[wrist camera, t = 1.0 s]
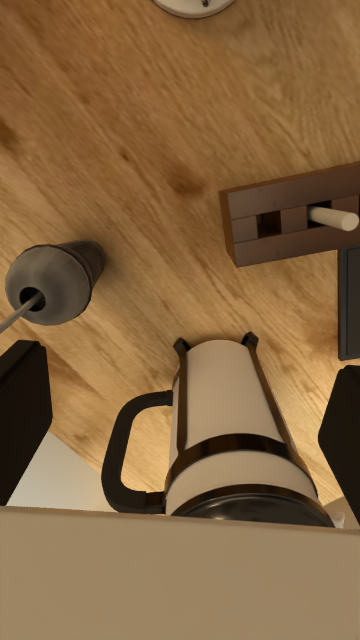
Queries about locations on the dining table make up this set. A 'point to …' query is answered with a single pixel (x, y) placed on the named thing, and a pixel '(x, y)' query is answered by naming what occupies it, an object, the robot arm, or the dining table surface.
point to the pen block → (289, 215)
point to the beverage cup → (53, 282)
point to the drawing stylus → (333, 217)
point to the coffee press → (220, 445)
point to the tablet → (349, 303)
